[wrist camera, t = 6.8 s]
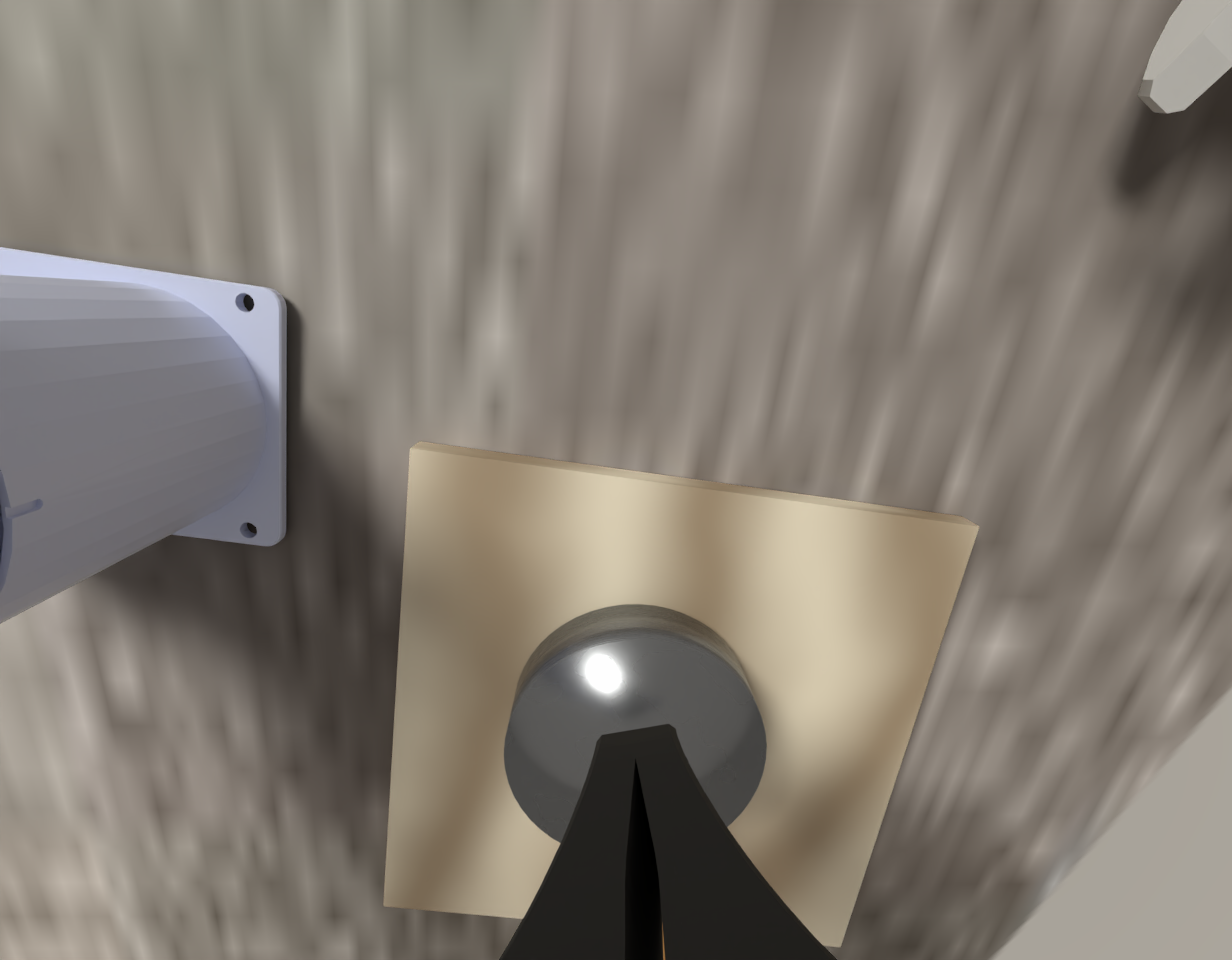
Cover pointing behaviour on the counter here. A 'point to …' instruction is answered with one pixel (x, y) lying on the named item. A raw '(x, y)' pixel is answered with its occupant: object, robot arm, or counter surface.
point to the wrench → (1188, 55)
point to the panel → (682, 581)
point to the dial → (631, 708)
